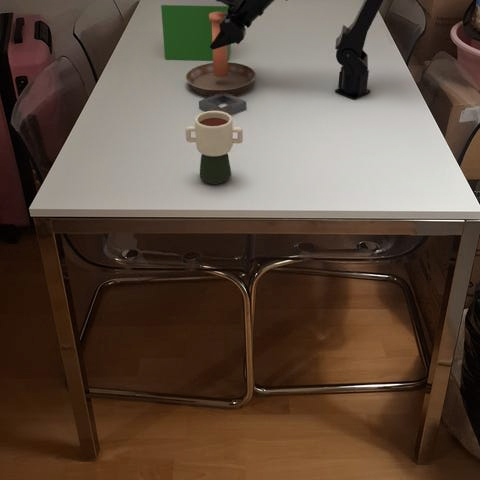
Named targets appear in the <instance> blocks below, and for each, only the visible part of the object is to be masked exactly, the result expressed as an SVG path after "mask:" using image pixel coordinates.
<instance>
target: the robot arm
mask: <svg viewBox="0 0 480 480" xmlns="http://www.w3.org/2000/svg"><path fill="white" fill-rule="evenodd" d="M216 1H218V2H222V3H224V4H226V5H228V6H229V7H228V14H229V15H226V16H225V17H224V18H223V19H222V20H221V22H220V24H219V26H220V32H219V34H218V35H217V37H216V38H215V39H214V41H213V42H212V44H211V45H210V48H211V49H212V50H214V49H217V48H220V47H223V46H226V45H230V44H231V45H232V44H237V45H239V44H240V43H241V42H242V41H244V39H245V37H246V35H247V29H249V28H250V27H251V26H252V24H253V22H254V21H255V20H257V18H258V17H261V16H262V15H263V14H264V12H265V11H266V9H268V8H269V6H271V4H273V3H274V2H275V1H276V0H216ZM285 1H288V0H285ZM383 3H384V0H363V2H362V4H361V6H360V8H359V10H358V12H357V14H356V16H355V17H354V20H353V22H352V23H351V24H350V25H349V26H346V25H342V27H341V31H340V33H339V35H338V37H337V38H336V39H335V47H334V48H335V50H336V51H335V59H336V61H337V62H338V64H339V65H341V66H340V67H341V68H340V71H339V74H338V88H336V89H334V92H335V93H337V94H339V95H342V96H345V97H347V98H349V99H352V100H356V99H360V97H363V96H365V95H367V94H370V93H371V89H369V88H368V82H369V75H370V74H369V73H370V70H369V58H368V57H369V56H368V54H367V53H366V51H365V50H364V47H365V44H366V38H367V34H368V31H369V29H370V28H371V27H372V26H371V25H372V24H373V22H374V20H375V18H376V16H377V14H378V13H379V10H380V8H381V7H382V5H383ZM246 28H247V29H246Z"/></svg>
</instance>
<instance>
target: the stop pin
mask: <svg viewBox="0 0 480 480" xmlns="http://www.w3.org/2000/svg"><path fill="white" fill-rule="evenodd" d="M226 15H229V14H228V13H227V12H220V11H219V12H212V13H210V14H209V20H210V21H212V42H213V41H214V39H215V38H216V37H217V35H218V34H219V32H220V26H219V24H220V22H221V20H222V19H223V18H224V17H225V16H226ZM228 62H229V60H228V59H227V45H226V46H223V47H220V48H217V49H214V50H213V61H212V63H213V70H214V76H216V77H225V76H227V75H228Z"/></svg>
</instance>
